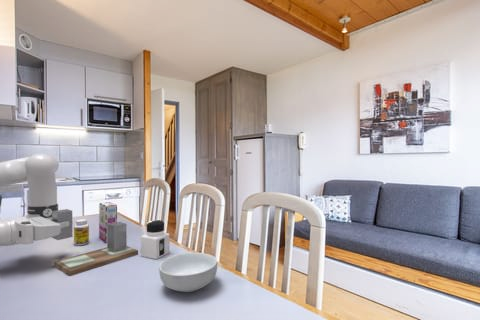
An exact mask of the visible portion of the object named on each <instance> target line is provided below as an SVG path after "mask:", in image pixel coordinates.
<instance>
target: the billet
mask: <svg viewBox="0 0 480 320" xmlns="http://www.w3.org/2000/svg"><path fill="white" fill-rule="evenodd" d="M127 242H128V241H127V223H125V222H122V221H117V222H116V223H111V224H107V243H106V244H107V250H109V251H111V252H113V253H115V252H119V251H122V250H126V249H127V246H128V245H127Z"/></svg>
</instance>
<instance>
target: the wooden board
mask: <svg viewBox="0 0 480 320" xmlns="http://www.w3.org/2000/svg"><path fill="white" fill-rule="evenodd" d="M138 255H139V250H138V249H136V248H133V247H130V246H128V245H127V249H126V250H122V251H119V252H115V253H113V252H111V251H109V250H107V247H103V248H100V249H95V250H93V251H92V250H91V251H87V252H84V253H81V254H77V255H73V256H70V257H66V258H62V259H59V260H53V267H55V268H57V269H58V270H60V271H61V272H63V273H64V274H66V275H67V276H70V277H71V276H74V275H77V274H81V273H83V272H86V271H90V270H93V269H96V268H100V267H103V266H105V265H106V266H107V265H109V264H112V263H115V262H118V261H122V260H123V259H127V258H131V257H134V256H138Z"/></svg>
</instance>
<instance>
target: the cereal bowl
mask: <svg viewBox="0 0 480 320" xmlns="http://www.w3.org/2000/svg"><path fill="white" fill-rule="evenodd" d="M217 269H218V261H217V258H216V257H215V256H214V255H212V254H210V253H203V252H182V253H179V254H175V255H172V256H169V257H167V258H165V259H164V260H162V261H161V262H160V264H159V266H158V272H159V273H158V274H159V278H160V280H161V282H162V284H163V285H164V286H165V287H166V288H169V289H170V290H173V291H176V292H177V291H178V292H181V293H192V292H196V291H198V290H200V289H201V288H204V287H205V286H207V285H208V284H210V283H211V282H212V281H213V280H214V278H215V276H216V274H217V271H218V270H217Z"/></svg>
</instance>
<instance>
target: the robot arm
mask: <svg viewBox="0 0 480 320" xmlns="http://www.w3.org/2000/svg"><path fill="white" fill-rule="evenodd" d="M59 166H60V164H59V160H58V159H57V157H56V156H54V155H53V154H49V153H34V154H32V155H30V156H26V157H20V158H17V159H16V158H15V159H10V160H5V161H1V162H0V188H2V187H7V186H11V185H16V184H20V183H23V182H27V187H28V206H27V208H26V210H27V211H26V213H27V215H25V216H17V217H10V218H9V217H8V218H4V219H0V247H9V246H14V245H20V244H21V245H30V244H33V243H34V241H42V240H45V239H49V238H52V237H54V236H57V235H59V234H60V233H61V228H63V227H68V226H69V222H68V221H64V222H61V223H56V222H53V221H52V211H57V210H59V203H58V187H57V182H56V172H57V171H58V169H59ZM2 201H3V196H2V195H1V194H0V212H2V211H1V210H2V209H1V207H2Z"/></svg>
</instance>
